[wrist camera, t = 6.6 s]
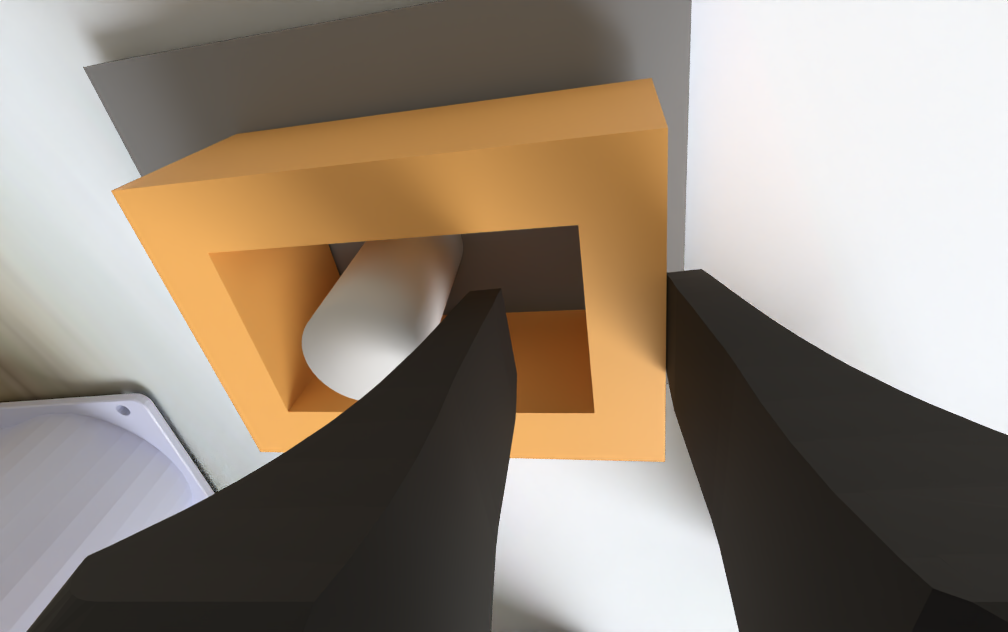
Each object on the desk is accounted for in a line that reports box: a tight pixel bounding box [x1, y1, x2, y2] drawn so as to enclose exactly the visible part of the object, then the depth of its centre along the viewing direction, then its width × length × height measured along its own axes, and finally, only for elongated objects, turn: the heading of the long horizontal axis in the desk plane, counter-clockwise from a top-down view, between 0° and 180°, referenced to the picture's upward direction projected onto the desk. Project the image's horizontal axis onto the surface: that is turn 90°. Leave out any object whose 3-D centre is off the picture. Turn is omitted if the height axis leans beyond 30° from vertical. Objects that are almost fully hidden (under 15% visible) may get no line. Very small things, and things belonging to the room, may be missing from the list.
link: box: [112, 78, 668, 462], centre depth 12 cm, size 10×7×4 cm
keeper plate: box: [83, 0, 691, 400], centre depth 13 cm, size 14×11×6 cm
